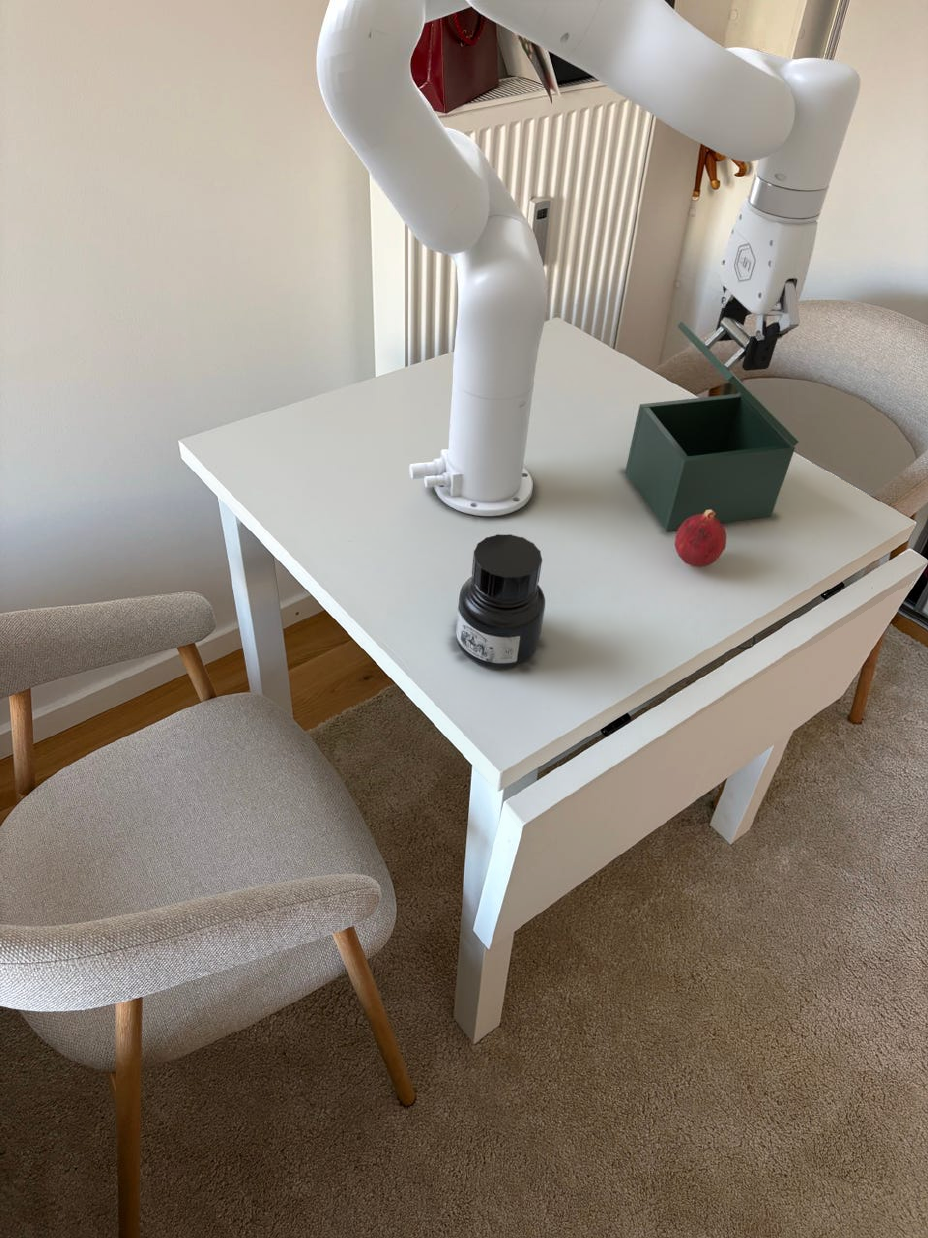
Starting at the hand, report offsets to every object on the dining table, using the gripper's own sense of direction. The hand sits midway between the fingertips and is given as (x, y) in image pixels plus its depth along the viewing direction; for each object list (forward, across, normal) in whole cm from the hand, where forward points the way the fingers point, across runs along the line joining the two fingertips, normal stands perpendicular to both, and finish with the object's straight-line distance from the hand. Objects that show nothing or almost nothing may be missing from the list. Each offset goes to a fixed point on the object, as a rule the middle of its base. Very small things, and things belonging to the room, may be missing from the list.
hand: (740, 352), depth 114 cm
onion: (+20, +13, -7) cm, 25 cm away
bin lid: (+5, 0, +1) cm, 5 cm away
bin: (+20, 0, 0) cm, 20 cm away
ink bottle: (+21, +20, -34) cm, 45 cm away
